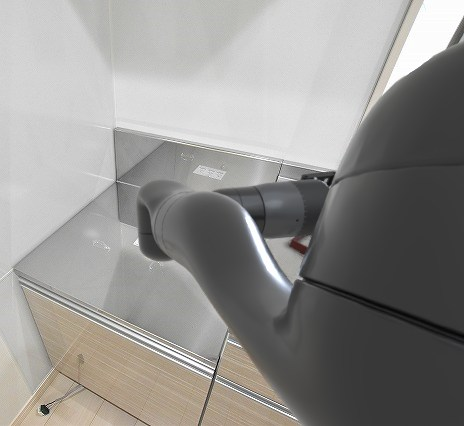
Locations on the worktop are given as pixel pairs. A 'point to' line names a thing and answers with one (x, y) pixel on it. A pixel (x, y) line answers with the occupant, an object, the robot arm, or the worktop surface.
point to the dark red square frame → (298, 245)
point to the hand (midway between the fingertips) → (395, 199)
